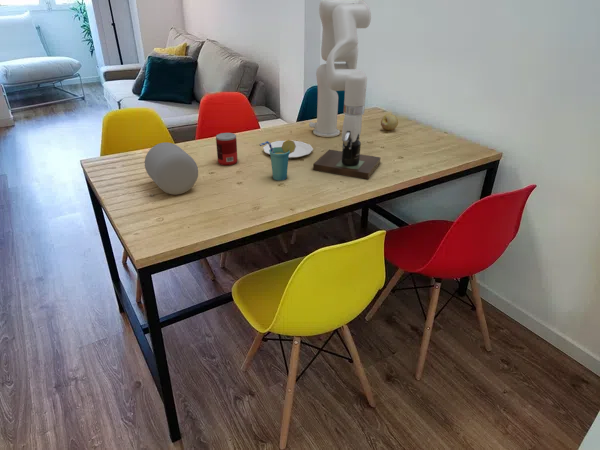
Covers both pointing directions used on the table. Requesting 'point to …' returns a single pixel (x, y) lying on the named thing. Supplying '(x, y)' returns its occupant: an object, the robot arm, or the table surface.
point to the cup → (280, 158)
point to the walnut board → (333, 164)
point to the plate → (299, 150)
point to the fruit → (389, 122)
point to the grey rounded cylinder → (171, 168)
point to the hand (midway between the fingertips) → (350, 154)
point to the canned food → (226, 149)
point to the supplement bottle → (353, 154)
